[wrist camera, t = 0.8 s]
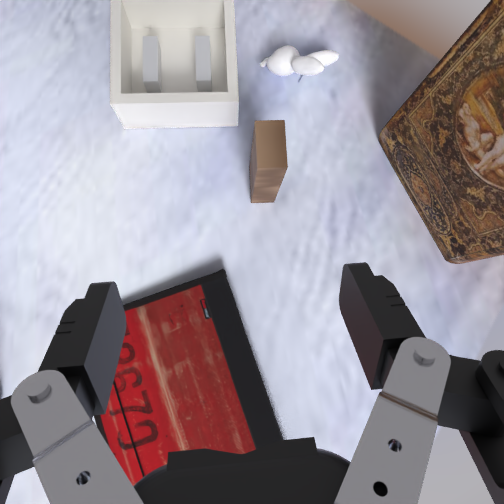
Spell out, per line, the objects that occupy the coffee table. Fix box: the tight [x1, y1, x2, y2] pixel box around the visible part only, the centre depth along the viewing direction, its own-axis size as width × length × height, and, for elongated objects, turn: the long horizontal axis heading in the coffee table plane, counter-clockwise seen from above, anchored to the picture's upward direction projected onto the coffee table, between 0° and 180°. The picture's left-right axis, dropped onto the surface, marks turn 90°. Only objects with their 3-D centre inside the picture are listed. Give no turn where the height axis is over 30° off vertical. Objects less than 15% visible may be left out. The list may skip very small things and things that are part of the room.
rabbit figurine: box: [260, 45, 339, 82], centre depth 41 cm, size 6×4×8 cm
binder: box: [94, 269, 283, 486], centre depth 37 cm, size 16×2×21 cm
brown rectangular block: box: [249, 120, 288, 203], centre depth 36 cm, size 2×4×10 cm, turn 3°
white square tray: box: [110, 0, 239, 129], centre depth 40 cm, size 12×12×5 cm
